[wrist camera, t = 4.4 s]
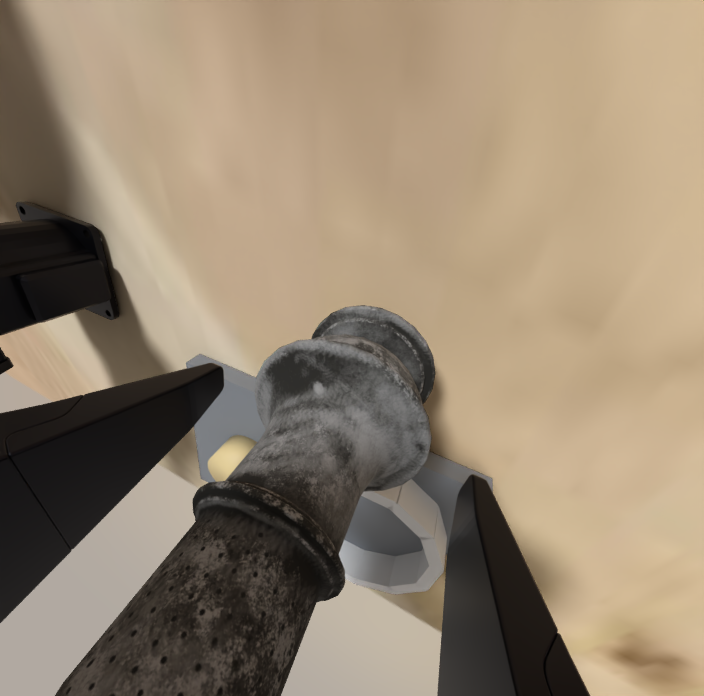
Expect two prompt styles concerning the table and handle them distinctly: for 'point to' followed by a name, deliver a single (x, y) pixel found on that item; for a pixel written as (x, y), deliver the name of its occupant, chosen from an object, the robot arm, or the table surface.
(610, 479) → the table surface
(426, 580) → the socket board
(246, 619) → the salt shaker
